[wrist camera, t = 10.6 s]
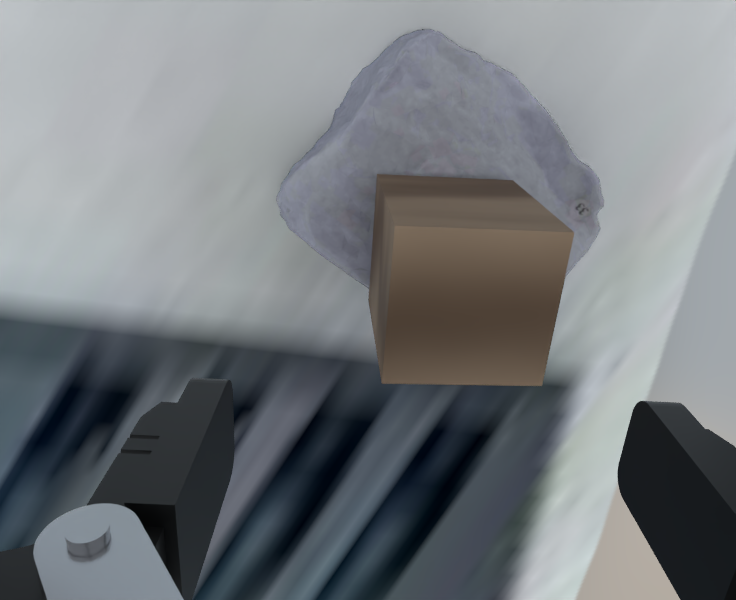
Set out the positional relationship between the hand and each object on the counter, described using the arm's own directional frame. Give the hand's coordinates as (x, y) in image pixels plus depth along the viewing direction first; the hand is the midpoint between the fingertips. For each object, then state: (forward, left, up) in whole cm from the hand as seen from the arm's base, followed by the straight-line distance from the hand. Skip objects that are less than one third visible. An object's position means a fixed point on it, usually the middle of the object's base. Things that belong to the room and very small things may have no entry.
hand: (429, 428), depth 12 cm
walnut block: (0, +1, -12) cm, 12 cm away
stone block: (-2, +2, -16) cm, 17 cm away
